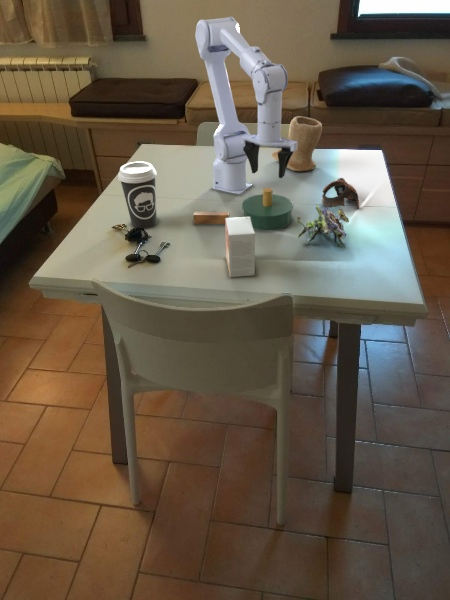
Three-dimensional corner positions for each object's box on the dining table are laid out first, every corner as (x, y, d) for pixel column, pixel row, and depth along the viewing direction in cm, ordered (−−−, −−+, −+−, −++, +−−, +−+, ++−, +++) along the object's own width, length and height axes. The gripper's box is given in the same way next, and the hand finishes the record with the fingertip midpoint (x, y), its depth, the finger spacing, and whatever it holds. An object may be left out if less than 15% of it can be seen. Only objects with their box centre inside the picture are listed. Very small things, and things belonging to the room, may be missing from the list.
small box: (226, 258, 110) (224, 217, 104) (250, 257, 110) (250, 215, 104) (229, 278, 104) (227, 235, 97) (254, 276, 104) (255, 233, 98)
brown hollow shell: (364, 215, 126) (354, 193, 121) (329, 227, 130) (318, 206, 125) (358, 186, 134) (349, 164, 128) (326, 199, 138) (315, 178, 132)
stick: (194, 224, 124) (193, 215, 122) (195, 221, 126) (194, 211, 124) (228, 225, 123) (228, 215, 122) (229, 221, 125) (229, 211, 123)
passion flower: (335, 264, 117) (358, 242, 106) (293, 261, 115) (311, 238, 103) (331, 223, 120) (352, 197, 109) (290, 219, 118) (307, 193, 107)
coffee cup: (168, 216, 128) (162, 162, 119) (152, 233, 121) (145, 176, 112) (136, 212, 131) (128, 158, 122) (119, 228, 124) (109, 172, 115)
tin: (235, 225, 123) (234, 210, 121) (257, 206, 132) (257, 193, 129) (277, 235, 118) (278, 221, 116) (298, 216, 126) (299, 202, 124)
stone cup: (325, 170, 151) (330, 121, 142) (292, 176, 148) (295, 127, 139) (301, 155, 163) (304, 109, 154) (270, 161, 159) (271, 114, 150)
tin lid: (233, 204, 125) (233, 185, 122) (276, 194, 130) (277, 176, 127) (256, 224, 116) (257, 205, 113) (302, 213, 120) (304, 194, 117)
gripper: (303, 119, 116) (300, 173, 124) (250, 113, 122) (250, 164, 130) (292, 127, 111) (289, 183, 119) (237, 120, 117) (237, 173, 125)
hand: (268, 174), depth 124 cm, fingers open, 7 cm apart
